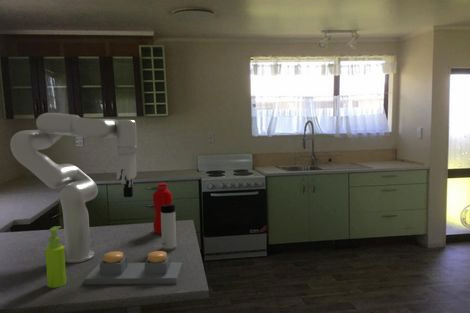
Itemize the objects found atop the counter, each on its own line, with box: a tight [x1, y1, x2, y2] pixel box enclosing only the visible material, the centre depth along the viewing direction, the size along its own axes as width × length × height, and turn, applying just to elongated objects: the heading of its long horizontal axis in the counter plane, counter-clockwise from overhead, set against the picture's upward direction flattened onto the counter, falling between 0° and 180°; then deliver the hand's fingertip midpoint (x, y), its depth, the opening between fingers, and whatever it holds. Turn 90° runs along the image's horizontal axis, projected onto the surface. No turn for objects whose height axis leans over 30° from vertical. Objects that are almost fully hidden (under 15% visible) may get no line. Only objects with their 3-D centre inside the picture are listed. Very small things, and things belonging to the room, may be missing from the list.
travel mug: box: [160, 204, 177, 252], centre depth 161 cm, size 6×7×20 cm
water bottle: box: [149, 182, 173, 235], centre depth 185 cm, size 9×11×25 cm
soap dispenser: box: [45, 225, 67, 289], centre depth 127 cm, size 6×7×20 cm
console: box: [84, 255, 183, 285], centre depth 134 cm, size 32×14×6 cm, turn 90°
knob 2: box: [147, 250, 168, 263], centre depth 134 cm, size 7×7×6 cm
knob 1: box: [103, 250, 124, 263], centre depth 134 cm, size 7×7×6 cm
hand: (128, 196), depth 146 cm, fingers closed
